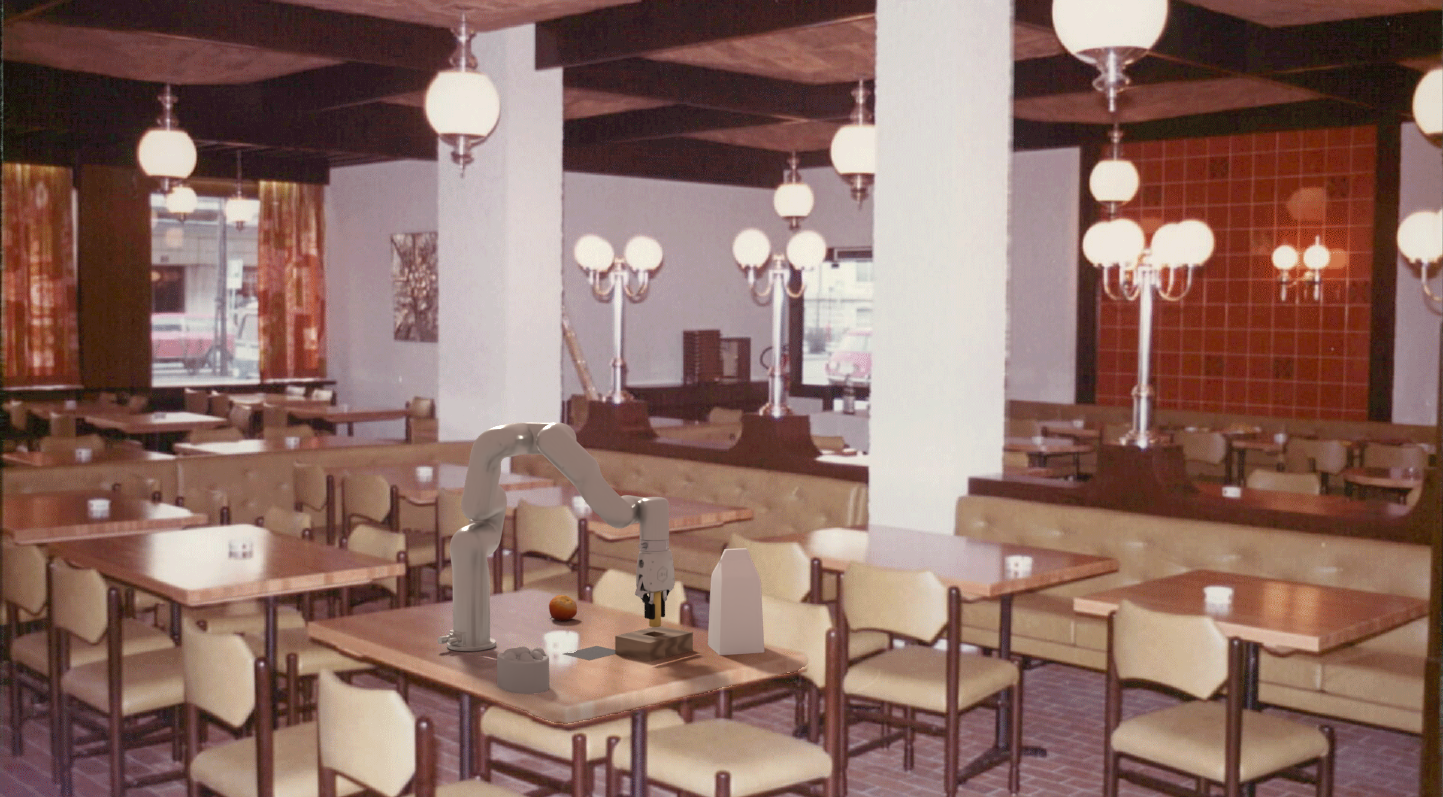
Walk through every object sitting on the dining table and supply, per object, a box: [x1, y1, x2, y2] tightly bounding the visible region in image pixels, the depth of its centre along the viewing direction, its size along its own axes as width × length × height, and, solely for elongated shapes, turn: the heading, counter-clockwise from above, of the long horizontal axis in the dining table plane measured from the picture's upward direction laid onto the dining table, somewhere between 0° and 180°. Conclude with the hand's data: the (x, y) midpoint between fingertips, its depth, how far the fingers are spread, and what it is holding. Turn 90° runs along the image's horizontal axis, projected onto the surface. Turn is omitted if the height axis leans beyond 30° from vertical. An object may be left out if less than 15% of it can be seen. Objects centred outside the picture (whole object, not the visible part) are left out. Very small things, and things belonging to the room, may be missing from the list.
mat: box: [563, 645, 616, 661], centre depth 333 cm, size 12×10×1 cm
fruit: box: [548, 594, 578, 622], centre depth 374 cm, size 8×8×8 cm
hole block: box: [614, 625, 694, 663], centre depth 334 cm, size 16×12×5 cm
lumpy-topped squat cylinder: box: [496, 646, 550, 695], centre depth 301 cm, size 10×13×9 cm
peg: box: [648, 591, 662, 628], centre depth 333 cm, size 3×3×10 cm
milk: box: [707, 547, 766, 656], centre depth 339 cm, size 12×12×26 cm
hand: (654, 617), depth 333 cm, fingers closed on peg, 3 cm apart
